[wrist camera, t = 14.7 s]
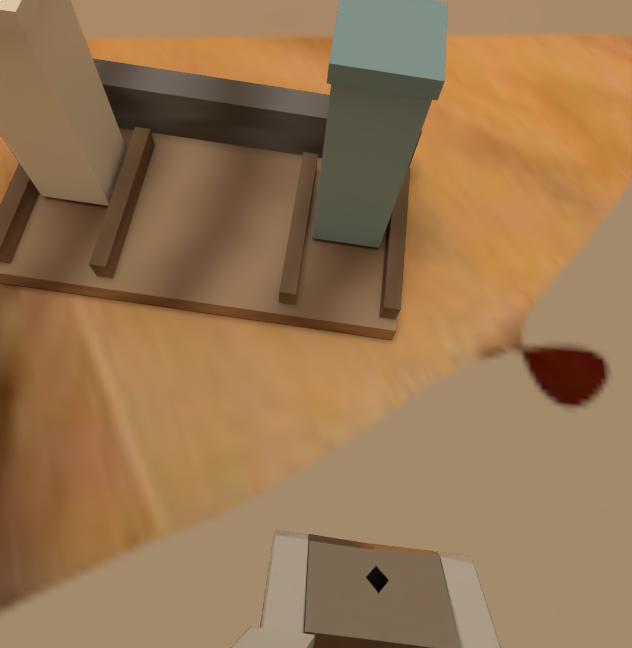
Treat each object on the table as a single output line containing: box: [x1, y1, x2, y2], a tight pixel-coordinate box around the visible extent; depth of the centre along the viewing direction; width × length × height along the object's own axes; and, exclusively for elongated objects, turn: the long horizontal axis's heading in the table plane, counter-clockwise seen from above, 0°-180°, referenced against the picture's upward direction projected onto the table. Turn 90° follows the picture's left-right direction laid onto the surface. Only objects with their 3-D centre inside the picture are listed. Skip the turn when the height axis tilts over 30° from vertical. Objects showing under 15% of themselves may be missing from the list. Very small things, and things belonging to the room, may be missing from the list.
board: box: [0, 59, 422, 340], centre depth 27 cm, size 20×12×4 cm, turn 83°
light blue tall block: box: [312, 0, 448, 248], centre depth 23 cm, size 4×4×11 cm
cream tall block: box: [0, 0, 127, 206], centre depth 22 cm, size 4×4×11 cm
